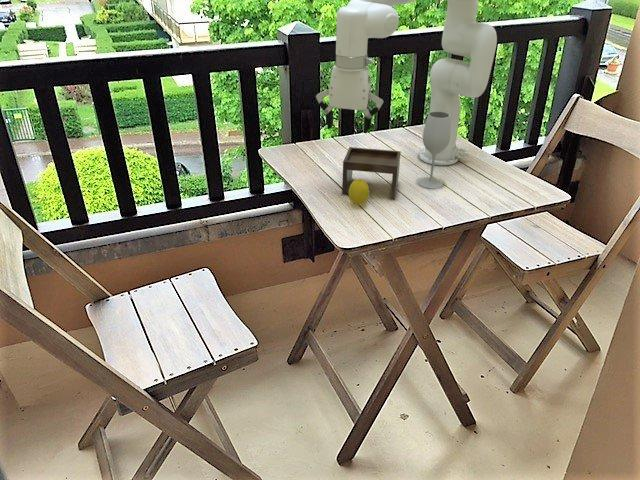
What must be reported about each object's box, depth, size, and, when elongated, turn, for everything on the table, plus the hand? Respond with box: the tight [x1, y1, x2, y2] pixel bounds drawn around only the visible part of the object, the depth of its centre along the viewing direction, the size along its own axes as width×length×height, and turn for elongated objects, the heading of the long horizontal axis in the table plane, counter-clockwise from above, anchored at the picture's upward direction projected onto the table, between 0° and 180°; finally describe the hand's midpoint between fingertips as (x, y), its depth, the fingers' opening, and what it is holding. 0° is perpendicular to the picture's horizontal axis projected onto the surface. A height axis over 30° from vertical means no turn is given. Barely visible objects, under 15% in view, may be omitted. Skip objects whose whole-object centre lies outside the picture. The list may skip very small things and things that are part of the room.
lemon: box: [348, 178, 370, 207], centre depth 143 cm, size 6×6×8 cm
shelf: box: [341, 146, 402, 201], centre depth 151 cm, size 15×11×10 cm
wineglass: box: [417, 111, 451, 190], centre depth 152 cm, size 8×8×21 cm
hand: (348, 129), depth 137 cm, fingers open, 9 cm apart
